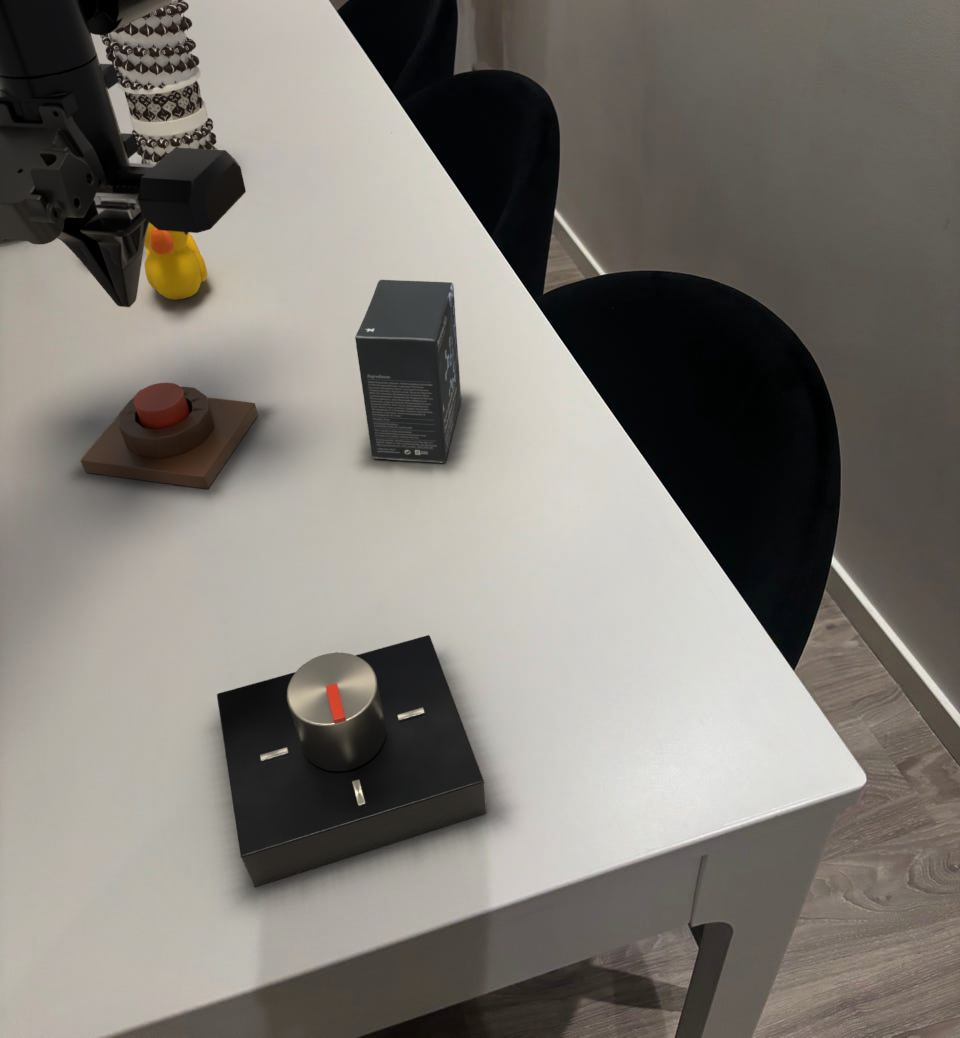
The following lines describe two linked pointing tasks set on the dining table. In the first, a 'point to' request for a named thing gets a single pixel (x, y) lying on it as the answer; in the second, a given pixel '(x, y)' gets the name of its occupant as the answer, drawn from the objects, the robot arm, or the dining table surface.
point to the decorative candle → (161, 82)
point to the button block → (173, 443)
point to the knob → (337, 711)
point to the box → (410, 369)
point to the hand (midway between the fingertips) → (127, 304)
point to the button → (161, 405)
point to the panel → (353, 793)
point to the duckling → (173, 263)
